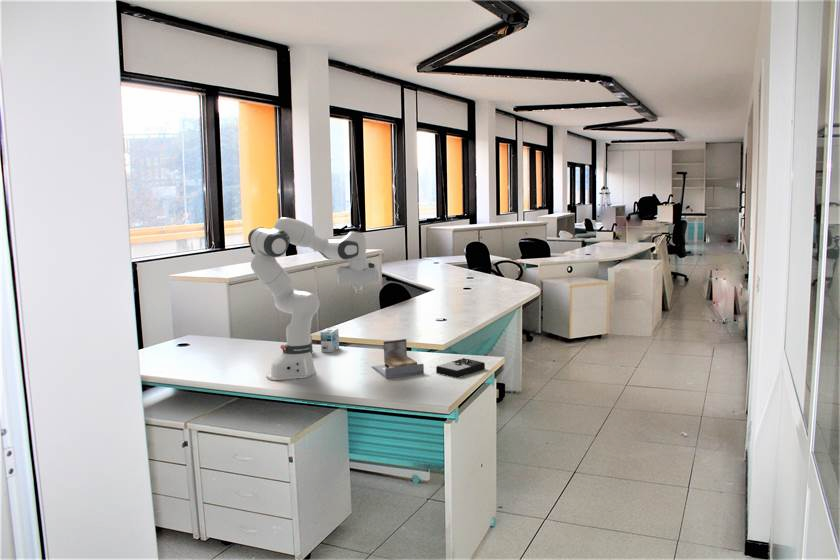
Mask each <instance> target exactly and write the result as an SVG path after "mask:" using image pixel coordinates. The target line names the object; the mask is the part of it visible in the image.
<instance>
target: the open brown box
mask: <svg viewBox="0 0 840 560" xmlns="http://www.w3.org/2000/svg"><path fill="white" fill-rule="evenodd" d="M382 344H383V361H384V362H383V363H384V365H385V367H387V368H388V367H389V366H390V367H400V366H407V365H415V364H418V362H417V361H416V360H414V359H413V358H411V357H409V356H408V355H407V352H408V349H407V339H406V338H402V339H395V340H394V339H393V340H386V341H383V343H382Z"/></svg>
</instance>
